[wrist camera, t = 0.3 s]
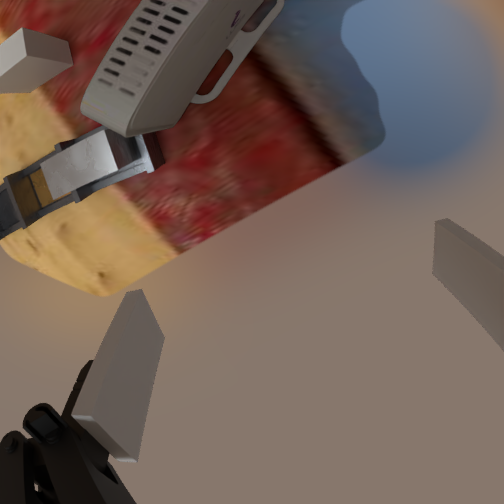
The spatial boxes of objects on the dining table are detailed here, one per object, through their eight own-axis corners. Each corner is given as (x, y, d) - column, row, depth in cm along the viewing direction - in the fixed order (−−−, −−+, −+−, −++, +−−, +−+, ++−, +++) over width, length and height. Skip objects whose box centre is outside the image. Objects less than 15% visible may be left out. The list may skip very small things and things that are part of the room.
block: (25, 70, 28) (-25, 67, 18) (68, 41, 28) (22, 27, 18) (30, 92, 30) (-20, 94, 20) (73, 64, 29) (26, 55, 19)
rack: (-12, 194, 35) (-58, 219, 25) (146, 106, 33) (111, 105, 23) (5, 235, 38) (-37, 268, 28) (165, 162, 36) (138, 182, 26)
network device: (193, 135, 35) (149, 156, 17) (134, 103, 33) (44, 100, 15) (306, -18, 27) (360, -100, 9) (247, -48, 24) (258, -142, 6)
